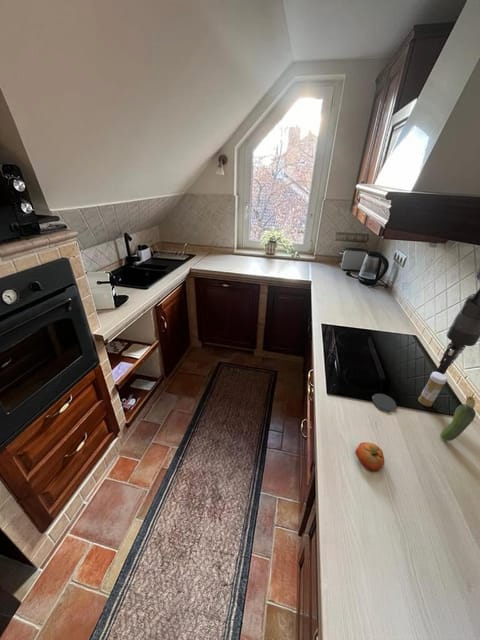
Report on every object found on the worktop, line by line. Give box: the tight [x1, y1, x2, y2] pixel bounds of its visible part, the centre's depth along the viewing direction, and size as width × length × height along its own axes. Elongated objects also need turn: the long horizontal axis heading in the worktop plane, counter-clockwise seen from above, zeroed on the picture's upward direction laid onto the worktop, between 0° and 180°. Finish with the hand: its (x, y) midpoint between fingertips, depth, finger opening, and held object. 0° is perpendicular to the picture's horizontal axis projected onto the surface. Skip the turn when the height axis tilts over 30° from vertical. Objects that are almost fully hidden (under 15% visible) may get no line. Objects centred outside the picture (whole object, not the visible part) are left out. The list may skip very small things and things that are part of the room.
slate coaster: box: [371, 393, 397, 413], centre depth 94 cm, size 8×8×1 cm
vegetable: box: [439, 395, 477, 442], centre depth 76 cm, size 4×4×20 cm
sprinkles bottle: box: [417, 371, 448, 407], centre depth 92 cm, size 5×5×13 cm
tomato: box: [354, 442, 386, 473], centre depth 75 cm, size 8×7×7 cm
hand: (444, 367), depth 87 cm, fingers open, 8 cm apart
